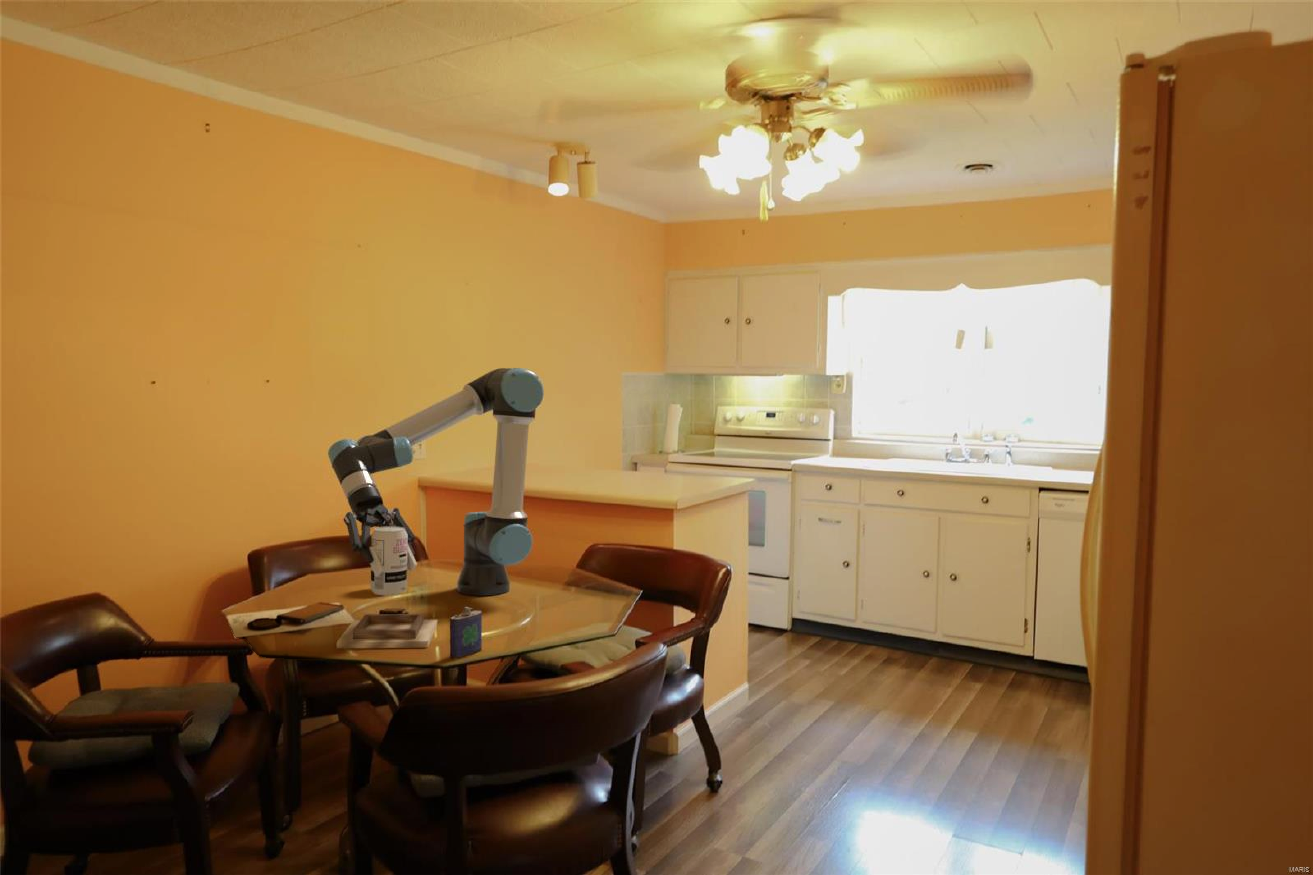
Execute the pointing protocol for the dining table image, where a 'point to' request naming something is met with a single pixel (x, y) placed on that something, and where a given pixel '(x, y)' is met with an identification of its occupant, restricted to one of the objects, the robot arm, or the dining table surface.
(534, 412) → the robot arm
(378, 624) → the oak stand
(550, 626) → the dining table surface
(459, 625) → the flask
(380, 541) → the supplement can
